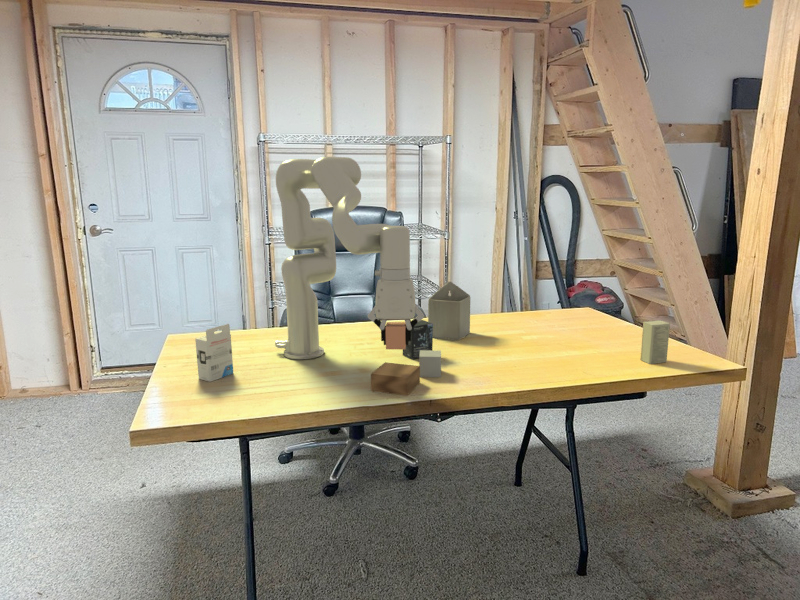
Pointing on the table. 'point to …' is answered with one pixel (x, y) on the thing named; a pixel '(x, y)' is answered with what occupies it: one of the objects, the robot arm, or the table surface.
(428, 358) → the grey block
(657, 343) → the skincare box
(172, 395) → the table surface
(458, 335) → the planter
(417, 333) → the box
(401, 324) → the terracotta block
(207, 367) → the ink box
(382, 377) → the brown flat square block
